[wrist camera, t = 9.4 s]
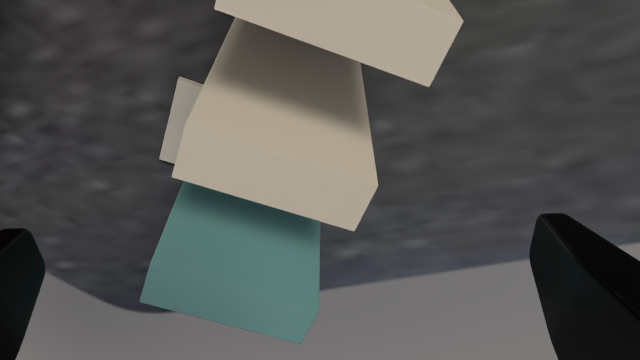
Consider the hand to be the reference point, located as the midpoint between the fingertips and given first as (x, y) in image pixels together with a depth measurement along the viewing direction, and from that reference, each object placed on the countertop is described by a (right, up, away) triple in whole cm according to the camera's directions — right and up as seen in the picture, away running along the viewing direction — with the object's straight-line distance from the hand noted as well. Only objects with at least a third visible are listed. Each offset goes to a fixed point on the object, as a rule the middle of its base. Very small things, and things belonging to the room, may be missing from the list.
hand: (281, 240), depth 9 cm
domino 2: (0, +6, +12) cm, 13 cm away
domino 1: (+1, +9, +9) cm, 13 cm away
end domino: (-2, +2, +14) cm, 14 cm away
